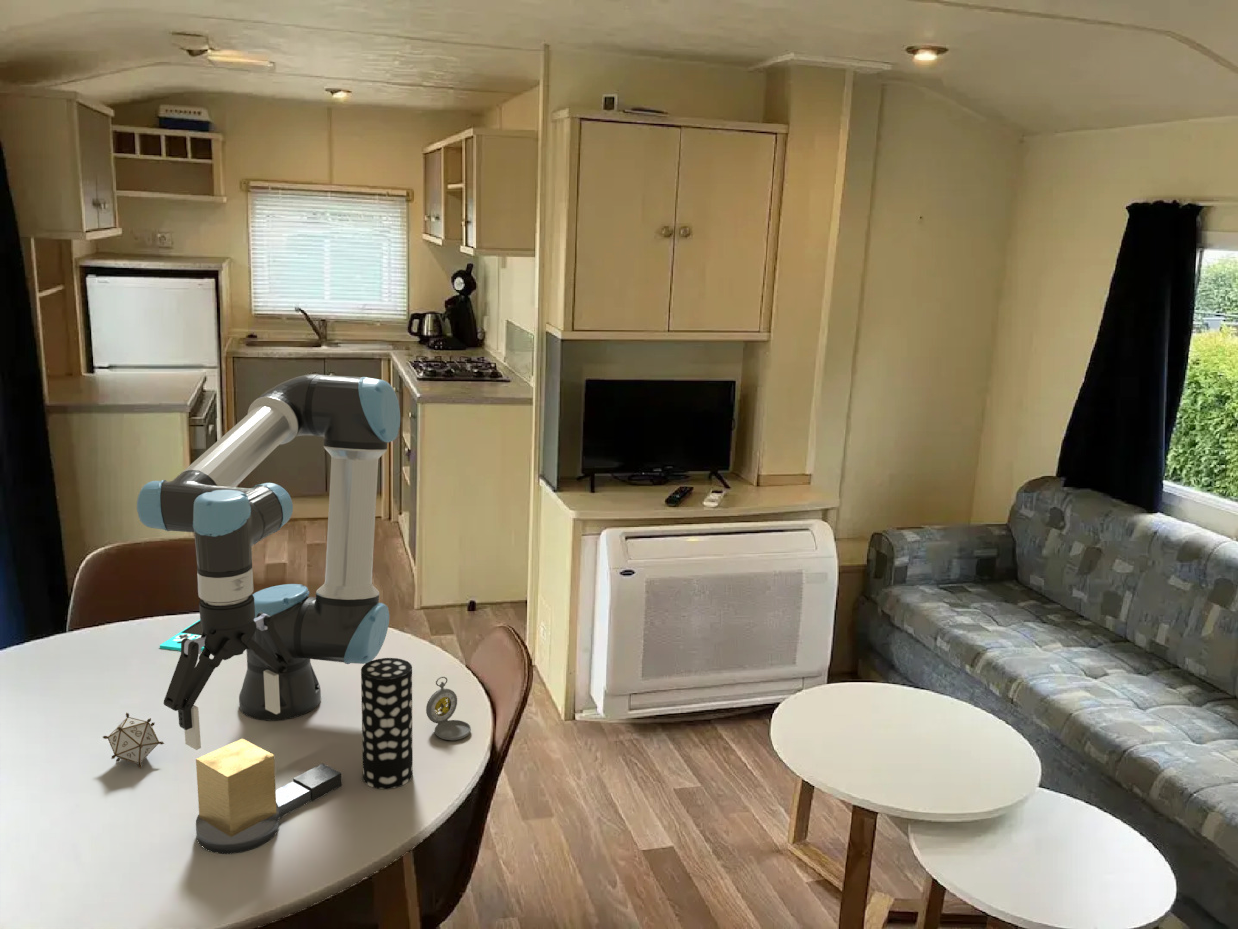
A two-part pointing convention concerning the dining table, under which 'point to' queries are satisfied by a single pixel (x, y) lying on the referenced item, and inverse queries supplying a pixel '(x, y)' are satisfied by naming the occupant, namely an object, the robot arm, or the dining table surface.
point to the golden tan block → (236, 787)
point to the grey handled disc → (287, 801)
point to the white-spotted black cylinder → (387, 722)
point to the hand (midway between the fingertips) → (234, 728)
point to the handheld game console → (190, 633)
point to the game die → (133, 740)
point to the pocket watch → (446, 714)
